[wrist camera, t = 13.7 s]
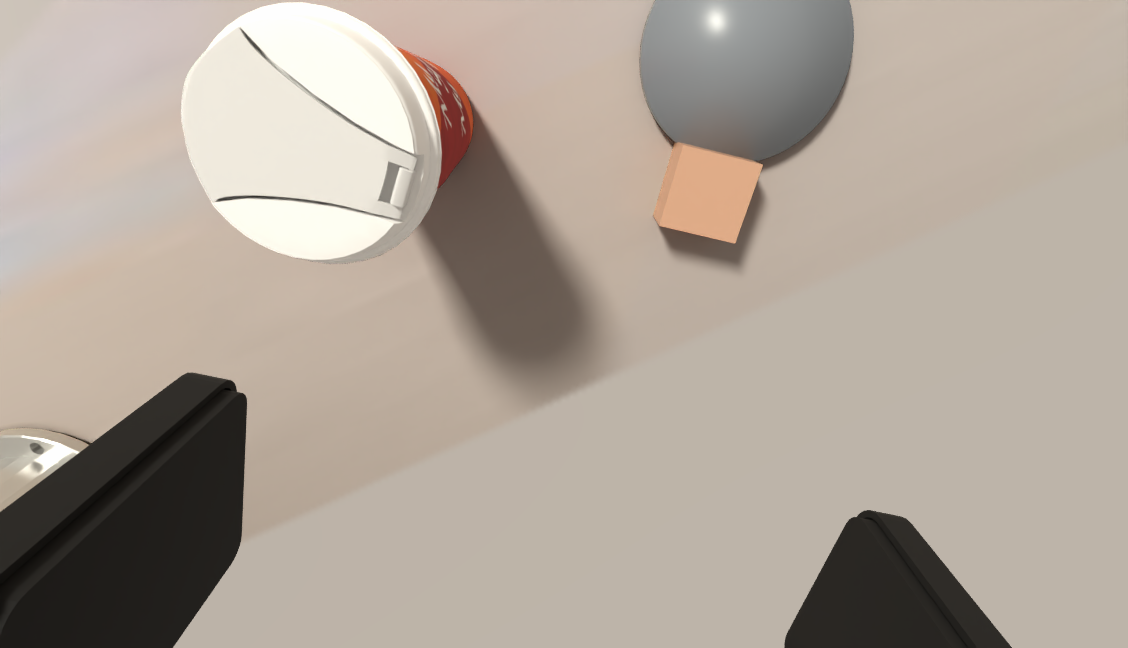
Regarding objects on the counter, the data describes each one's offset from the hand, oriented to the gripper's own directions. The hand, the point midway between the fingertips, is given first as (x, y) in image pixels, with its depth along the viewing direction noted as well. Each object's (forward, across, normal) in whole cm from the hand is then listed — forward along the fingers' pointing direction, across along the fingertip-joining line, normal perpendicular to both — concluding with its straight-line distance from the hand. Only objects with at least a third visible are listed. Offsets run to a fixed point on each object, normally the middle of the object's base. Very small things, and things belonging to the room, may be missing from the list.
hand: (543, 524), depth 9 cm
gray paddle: (+24, -7, -8) cm, 26 cm away
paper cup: (+24, +8, -3) cm, 26 cm away
